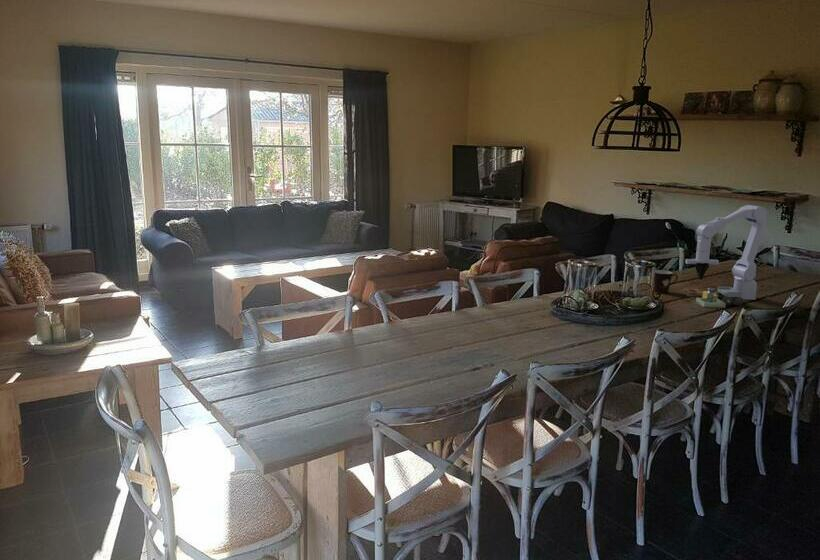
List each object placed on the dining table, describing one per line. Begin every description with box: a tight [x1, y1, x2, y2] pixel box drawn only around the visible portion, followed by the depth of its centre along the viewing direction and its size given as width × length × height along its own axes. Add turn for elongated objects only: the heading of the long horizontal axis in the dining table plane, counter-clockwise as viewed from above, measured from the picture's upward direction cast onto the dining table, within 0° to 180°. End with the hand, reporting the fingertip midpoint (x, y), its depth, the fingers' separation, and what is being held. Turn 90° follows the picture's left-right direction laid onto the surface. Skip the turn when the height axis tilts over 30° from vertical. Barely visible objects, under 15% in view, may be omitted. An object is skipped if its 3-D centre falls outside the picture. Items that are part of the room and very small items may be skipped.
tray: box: [695, 297, 727, 309], centre depth 300 cm, size 10×10×2 cm
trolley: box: [714, 286, 744, 307], centre depth 304 cm, size 9×12×6 cm
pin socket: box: [682, 288, 703, 298], centre depth 319 cm, size 7×7×2 cm
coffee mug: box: [653, 269, 679, 294], centre depth 323 cm, size 12×9×10 cm
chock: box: [701, 290, 718, 298], centre depth 308 cm, size 5×5×4 cm
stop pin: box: [706, 287, 716, 303], centre depth 300 cm, size 3×3×7 cm
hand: (700, 279), depth 307 cm, fingers closed
